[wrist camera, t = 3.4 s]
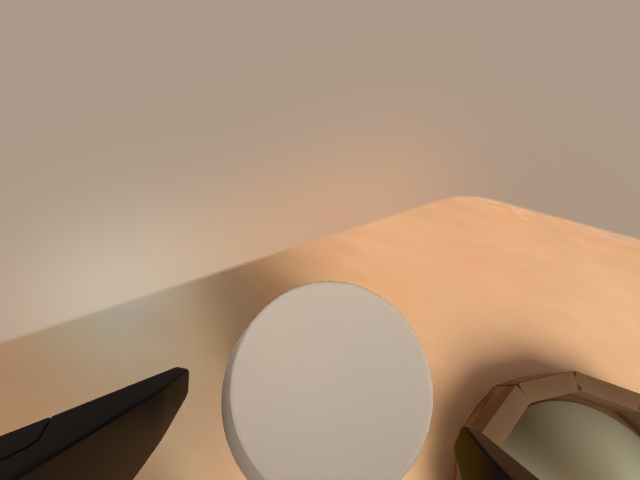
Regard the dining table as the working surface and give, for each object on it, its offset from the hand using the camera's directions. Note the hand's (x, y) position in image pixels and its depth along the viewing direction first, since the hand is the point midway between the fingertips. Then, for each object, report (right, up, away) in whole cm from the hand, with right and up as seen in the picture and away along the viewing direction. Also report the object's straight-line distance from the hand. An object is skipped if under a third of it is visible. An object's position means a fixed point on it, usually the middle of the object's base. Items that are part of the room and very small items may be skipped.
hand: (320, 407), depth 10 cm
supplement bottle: (0, -4, +9) cm, 9 cm away
